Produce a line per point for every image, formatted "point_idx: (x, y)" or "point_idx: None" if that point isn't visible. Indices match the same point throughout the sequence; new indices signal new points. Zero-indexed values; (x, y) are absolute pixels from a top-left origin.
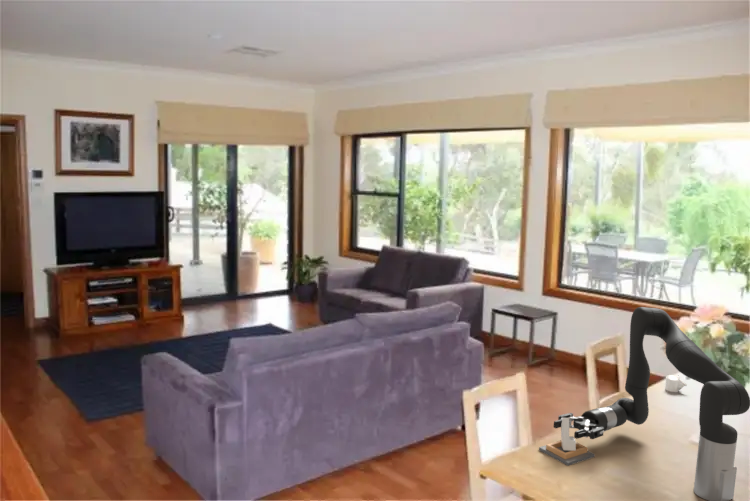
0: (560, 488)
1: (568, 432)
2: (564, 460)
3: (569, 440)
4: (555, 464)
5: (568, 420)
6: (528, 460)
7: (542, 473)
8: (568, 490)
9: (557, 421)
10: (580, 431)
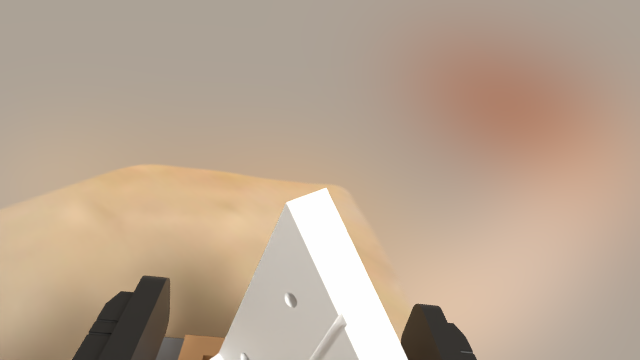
0: (89, 203)
1: (243, 308)
2: (180, 340)
3: (217, 355)
4: (210, 314)
5: (279, 224)
6: None
7: (201, 232)
8: (54, 208)
9: (430, 322)
10: (119, 321)
